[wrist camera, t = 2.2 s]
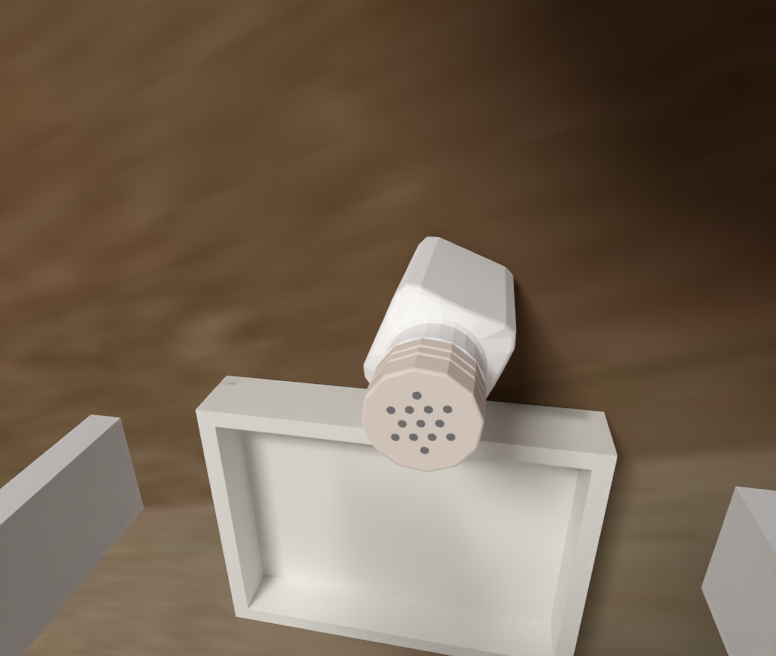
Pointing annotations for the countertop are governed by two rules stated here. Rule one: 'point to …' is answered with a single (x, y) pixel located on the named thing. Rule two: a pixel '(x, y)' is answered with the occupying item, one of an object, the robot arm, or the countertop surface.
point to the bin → (406, 521)
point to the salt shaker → (438, 357)
